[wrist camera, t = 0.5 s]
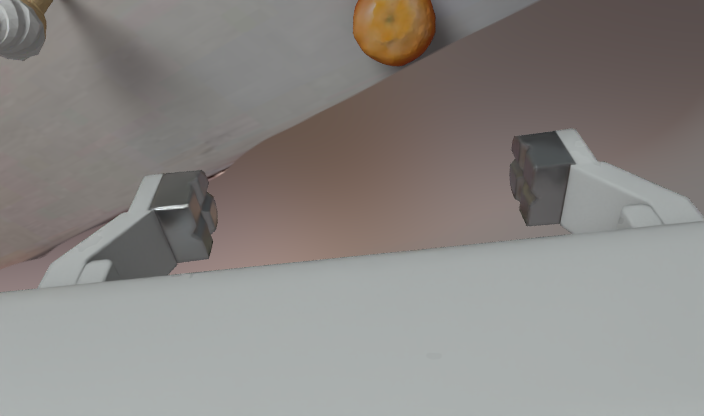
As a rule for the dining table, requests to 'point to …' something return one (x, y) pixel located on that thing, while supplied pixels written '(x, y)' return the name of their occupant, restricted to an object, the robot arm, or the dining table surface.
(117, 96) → the dining table surface
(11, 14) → the ice cream cone
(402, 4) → the fruit
